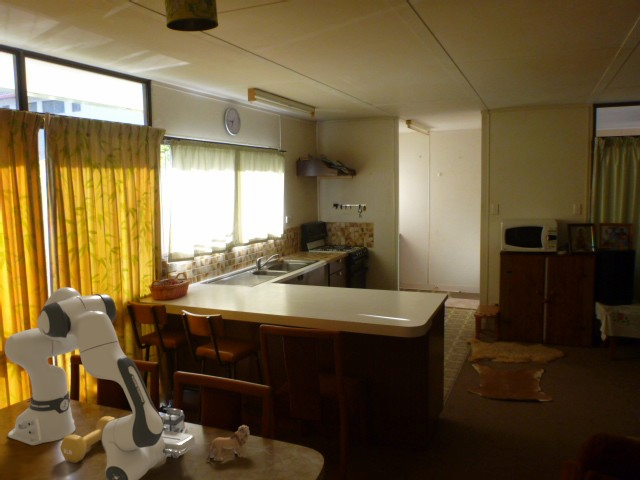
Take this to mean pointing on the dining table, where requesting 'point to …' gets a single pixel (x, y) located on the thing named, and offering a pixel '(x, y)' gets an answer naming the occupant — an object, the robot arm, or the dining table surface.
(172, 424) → the white gray rectangular canister
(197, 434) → the dining table surface
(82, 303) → the robot arm
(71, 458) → the dumbbell
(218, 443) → the lion figurine
